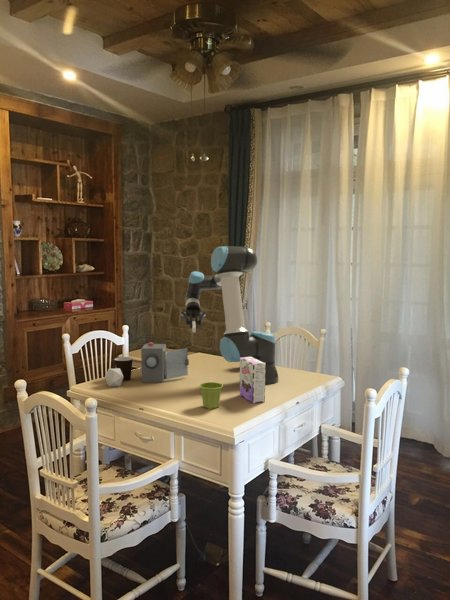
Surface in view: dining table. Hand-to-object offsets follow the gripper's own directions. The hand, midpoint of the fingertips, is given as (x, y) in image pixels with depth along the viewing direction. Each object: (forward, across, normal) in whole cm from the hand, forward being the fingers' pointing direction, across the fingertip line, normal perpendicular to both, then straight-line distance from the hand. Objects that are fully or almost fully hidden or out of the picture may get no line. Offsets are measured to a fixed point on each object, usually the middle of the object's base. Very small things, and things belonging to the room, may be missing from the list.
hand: (194, 330), depth 248 cm
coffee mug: (+11, +33, -22) cm, 41 cm away
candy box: (+46, -23, -6) cm, 51 cm away
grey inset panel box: (+13, +19, -20) cm, 31 cm away
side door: (+14, +8, -18) cm, 24 cm away
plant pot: (+55, -5, -3) cm, 55 cm away
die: (+23, +36, -17) cm, 46 cm away
